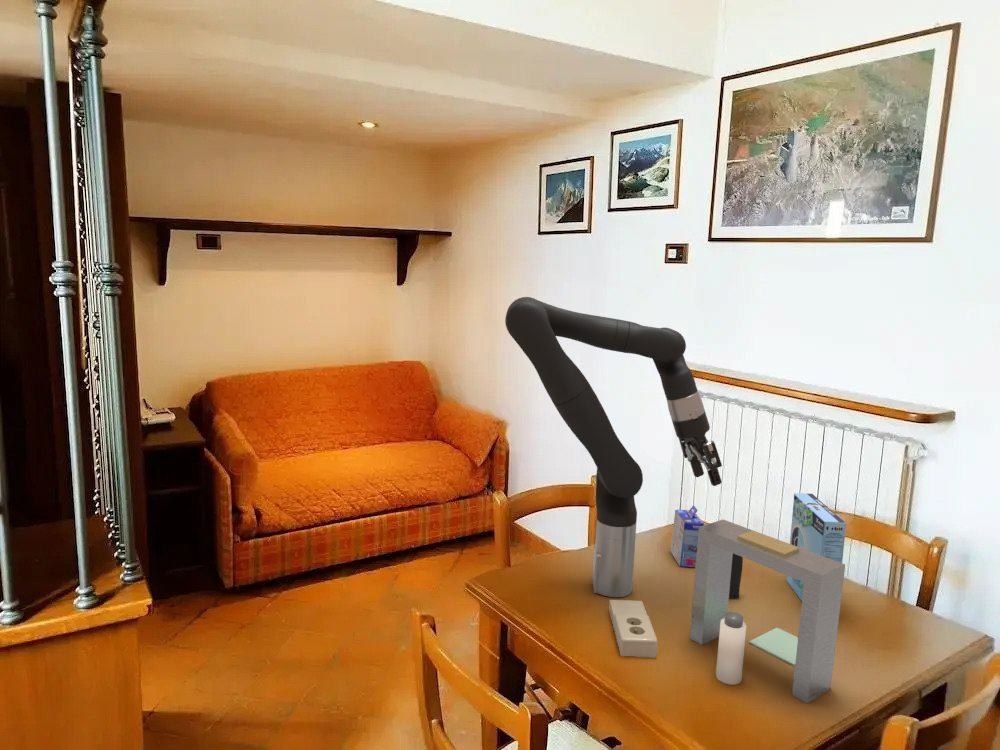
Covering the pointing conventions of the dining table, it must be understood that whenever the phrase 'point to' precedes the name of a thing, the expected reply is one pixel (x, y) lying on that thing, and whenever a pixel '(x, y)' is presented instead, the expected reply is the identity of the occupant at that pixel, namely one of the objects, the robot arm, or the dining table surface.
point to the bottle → (731, 649)
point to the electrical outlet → (633, 629)
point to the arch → (785, 558)
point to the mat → (778, 644)
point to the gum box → (815, 532)
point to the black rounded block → (735, 576)
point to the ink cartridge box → (685, 537)
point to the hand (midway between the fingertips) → (708, 480)
